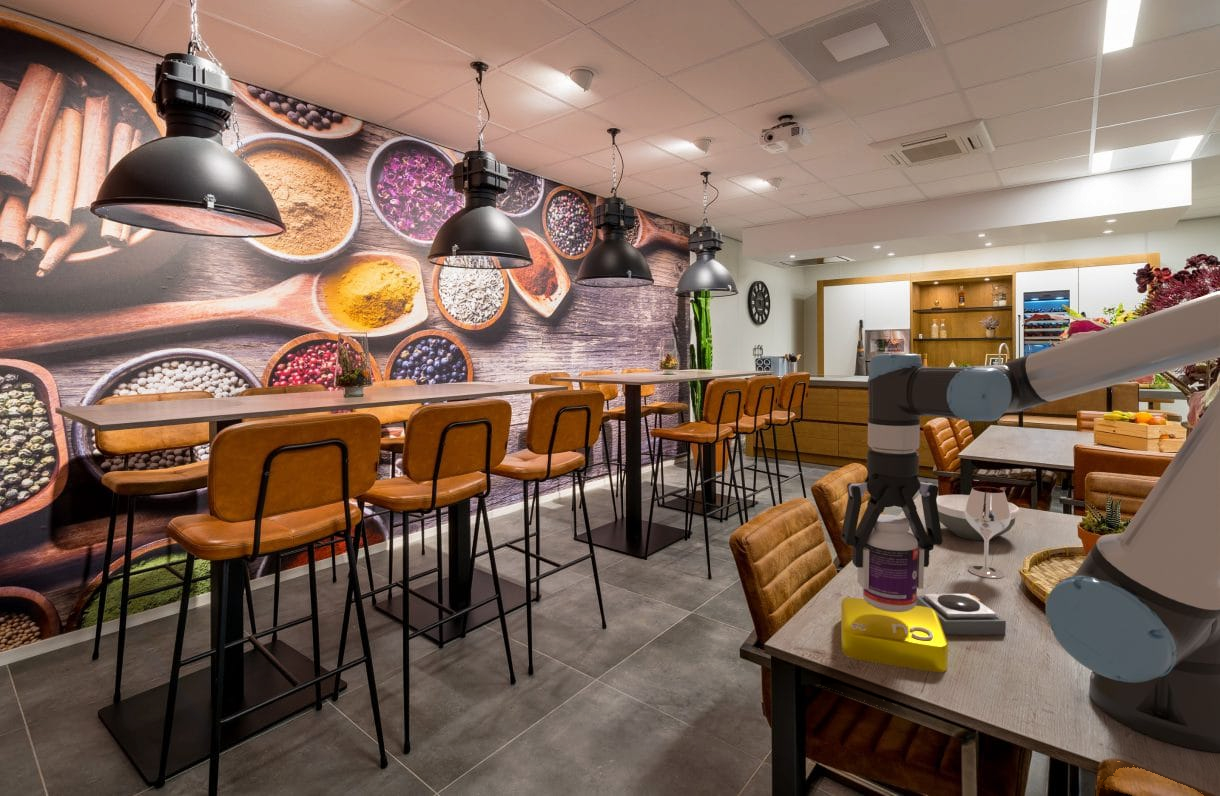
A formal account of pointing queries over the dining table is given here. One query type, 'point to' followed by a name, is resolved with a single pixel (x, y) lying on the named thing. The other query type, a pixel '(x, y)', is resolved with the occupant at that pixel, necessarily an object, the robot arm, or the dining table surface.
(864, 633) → the element tile
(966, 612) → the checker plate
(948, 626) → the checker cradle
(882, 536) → the pill bottle
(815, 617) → the dining table surface
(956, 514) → the bowl
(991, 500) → the wineglass
